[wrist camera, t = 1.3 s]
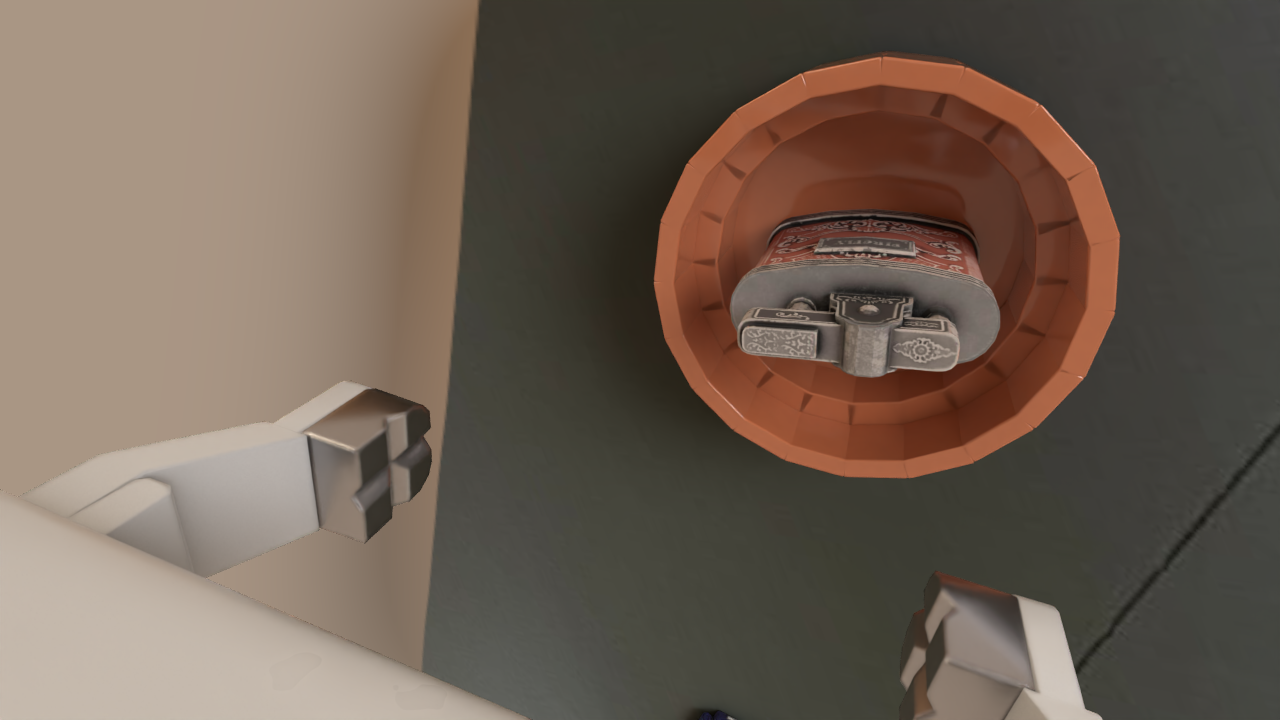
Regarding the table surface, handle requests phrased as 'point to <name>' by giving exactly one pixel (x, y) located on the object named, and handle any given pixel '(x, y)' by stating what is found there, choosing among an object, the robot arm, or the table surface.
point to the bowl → (900, 181)
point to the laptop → (716, 716)
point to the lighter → (868, 293)
